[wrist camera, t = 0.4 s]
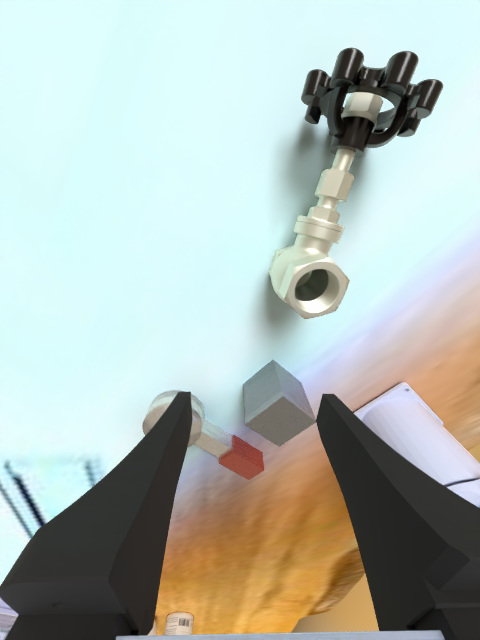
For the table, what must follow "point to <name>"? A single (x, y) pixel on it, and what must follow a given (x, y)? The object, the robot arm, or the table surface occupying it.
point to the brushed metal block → (276, 404)
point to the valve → (345, 165)
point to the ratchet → (211, 437)
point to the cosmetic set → (176, 624)
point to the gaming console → (6, 616)
